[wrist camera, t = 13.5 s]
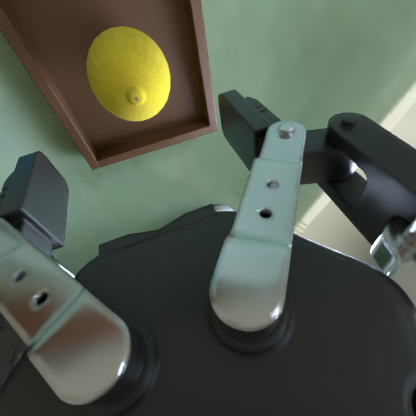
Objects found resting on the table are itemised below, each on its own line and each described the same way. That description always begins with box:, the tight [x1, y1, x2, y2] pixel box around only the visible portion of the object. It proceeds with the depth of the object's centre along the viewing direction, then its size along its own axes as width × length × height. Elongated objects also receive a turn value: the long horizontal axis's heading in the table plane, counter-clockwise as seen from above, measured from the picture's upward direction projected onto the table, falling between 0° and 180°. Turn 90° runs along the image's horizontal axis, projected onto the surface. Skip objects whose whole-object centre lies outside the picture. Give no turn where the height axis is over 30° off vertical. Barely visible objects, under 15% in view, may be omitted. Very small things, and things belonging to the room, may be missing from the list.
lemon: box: [86, 26, 170, 121], centre depth 17 cm, size 6×6×8 cm
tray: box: [0, 0, 218, 170], centre depth 19 cm, size 13×16×3 cm
